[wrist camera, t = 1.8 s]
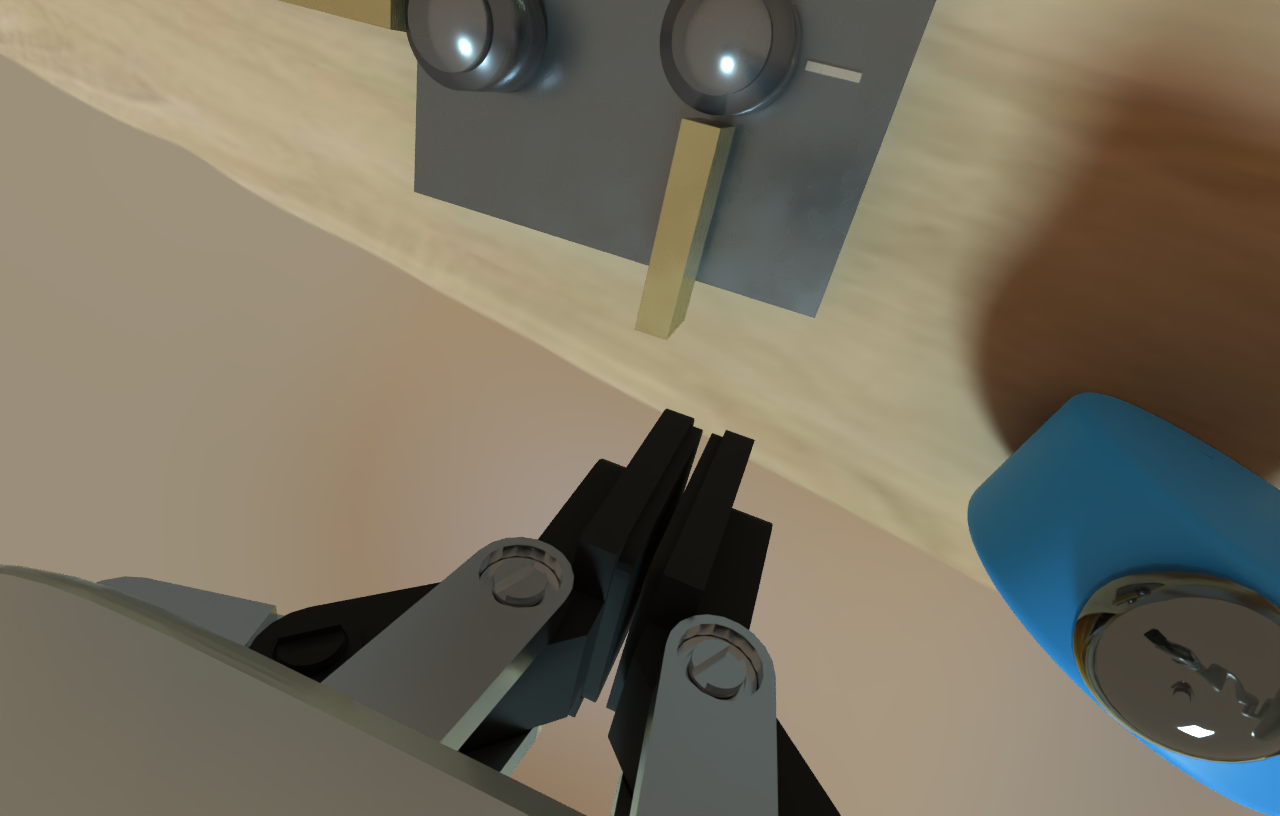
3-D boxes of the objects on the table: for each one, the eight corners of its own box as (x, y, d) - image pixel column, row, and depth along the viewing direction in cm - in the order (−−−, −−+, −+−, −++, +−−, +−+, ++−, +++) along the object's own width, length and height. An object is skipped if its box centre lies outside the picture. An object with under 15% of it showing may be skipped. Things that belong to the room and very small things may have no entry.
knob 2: (699, -35, 22) (671, -59, 19) (819, -10, 21) (811, -30, 18) (628, 296, 28) (599, 319, 25) (719, 326, 27) (700, 353, 24)
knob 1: (553, -21, 24) (505, -40, 20) (538, 103, 26) (493, 103, 23) (284, -83, 26) (205, -108, 23) (292, 36, 28) (221, 27, 25)
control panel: (949, -40, 21) (966, -71, 18) (818, 305, 28) (810, 335, 24) (453, -138, 25) (379, -181, 21) (438, 187, 31) (380, 197, 28)
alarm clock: (943, 446, 29) (1002, 717, 16) (1042, 340, 25) (1216, 574, 13) (1198, 596, 28) (1478, 1010, 15) (1335, 505, 25) (1839, 936, 12)
